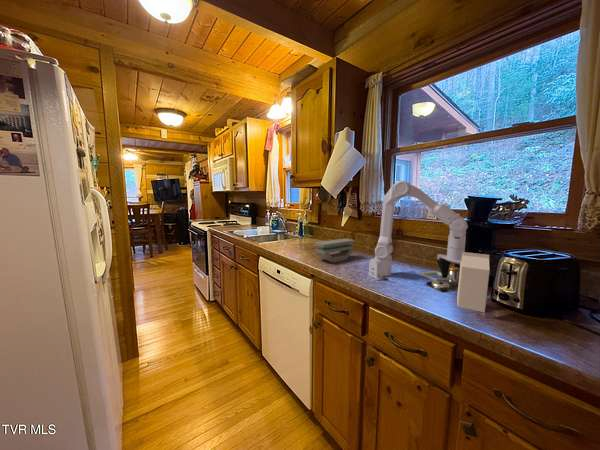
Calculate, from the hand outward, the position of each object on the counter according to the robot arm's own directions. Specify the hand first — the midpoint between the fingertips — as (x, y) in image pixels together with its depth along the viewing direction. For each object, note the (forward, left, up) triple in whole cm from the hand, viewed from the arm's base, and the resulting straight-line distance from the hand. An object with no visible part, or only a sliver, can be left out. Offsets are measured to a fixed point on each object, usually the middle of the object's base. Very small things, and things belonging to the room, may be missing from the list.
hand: (453, 280), depth 96 cm
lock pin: (0, 0, -2) cm, 2 cm away
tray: (+2, +10, -4) cm, 11 cm away
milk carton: (-11, -15, -4) cm, 19 cm away
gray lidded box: (-26, +54, -4) cm, 60 cm away
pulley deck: (-4, 0, -4) cm, 5 cm away
